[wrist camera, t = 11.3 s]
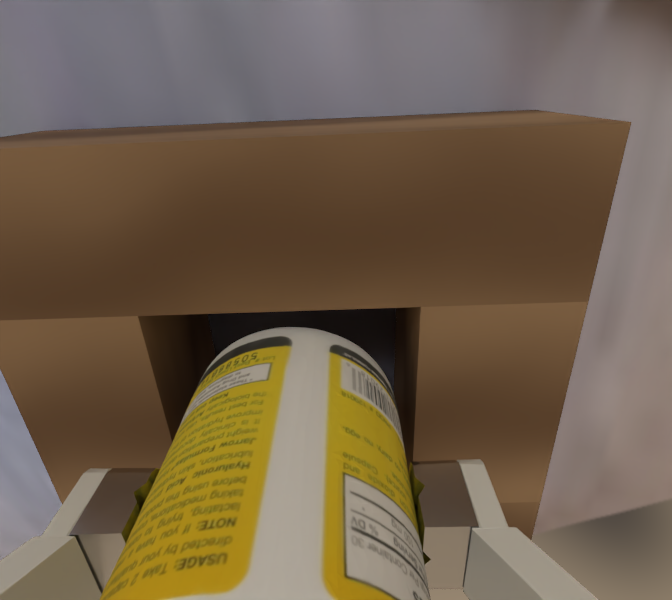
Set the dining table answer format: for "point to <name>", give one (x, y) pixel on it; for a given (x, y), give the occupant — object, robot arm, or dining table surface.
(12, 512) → the dining table surface
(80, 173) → the socket block
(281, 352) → the supplement bottle
